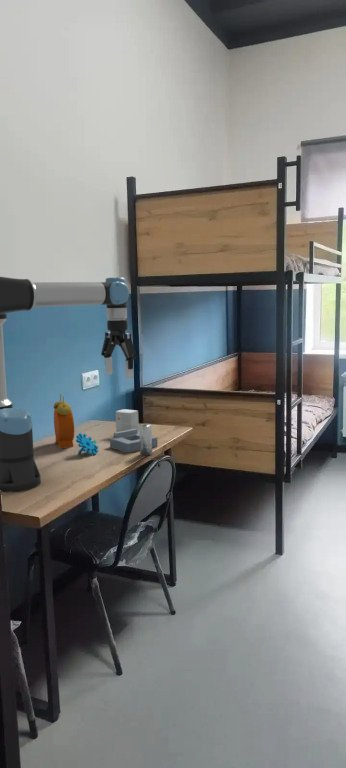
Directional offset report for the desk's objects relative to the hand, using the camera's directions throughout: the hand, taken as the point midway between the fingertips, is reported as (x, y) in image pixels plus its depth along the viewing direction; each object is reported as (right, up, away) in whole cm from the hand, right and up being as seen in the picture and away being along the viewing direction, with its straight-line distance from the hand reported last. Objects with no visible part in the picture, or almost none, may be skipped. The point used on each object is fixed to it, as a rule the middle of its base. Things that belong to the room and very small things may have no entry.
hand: (119, 376), depth 221 cm
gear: (-11, -29, -2) cm, 31 cm away
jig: (+5, -27, +6) cm, 28 cm away
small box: (+1, -25, +25) cm, 35 cm away
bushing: (+10, -29, -5) cm, 31 cm away
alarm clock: (-23, -27, +12) cm, 37 cm away
